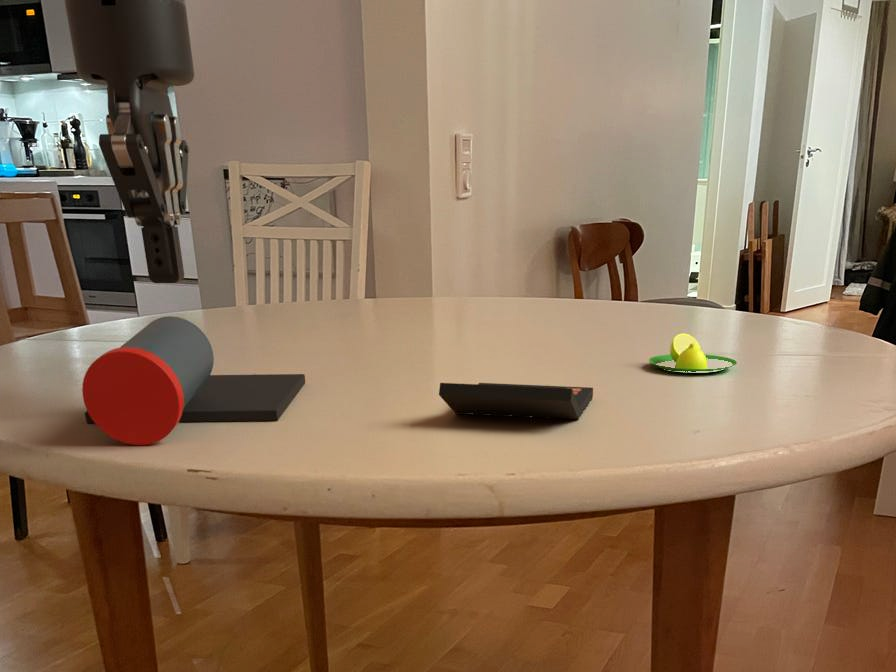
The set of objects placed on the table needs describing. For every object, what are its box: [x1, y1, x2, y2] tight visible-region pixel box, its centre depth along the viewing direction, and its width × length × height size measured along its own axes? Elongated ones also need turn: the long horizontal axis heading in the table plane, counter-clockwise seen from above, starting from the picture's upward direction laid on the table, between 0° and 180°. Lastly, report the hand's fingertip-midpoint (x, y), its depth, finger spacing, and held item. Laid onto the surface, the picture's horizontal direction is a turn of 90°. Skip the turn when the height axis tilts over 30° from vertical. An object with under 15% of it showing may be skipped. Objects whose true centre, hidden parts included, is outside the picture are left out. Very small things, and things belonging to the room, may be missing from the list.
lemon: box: [648, 333, 738, 372], centre depth 84 cm, size 8×8×3 cm
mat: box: [84, 373, 306, 424], centre depth 73 cm, size 14×14×1 cm
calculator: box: [438, 382, 594, 420], centre depth 69 cm, size 9×12×3 cm
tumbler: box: [81, 315, 215, 446], centre depth 65 cm, size 6×6×12 cm
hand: (167, 281), depth 68 cm, fingers closed
